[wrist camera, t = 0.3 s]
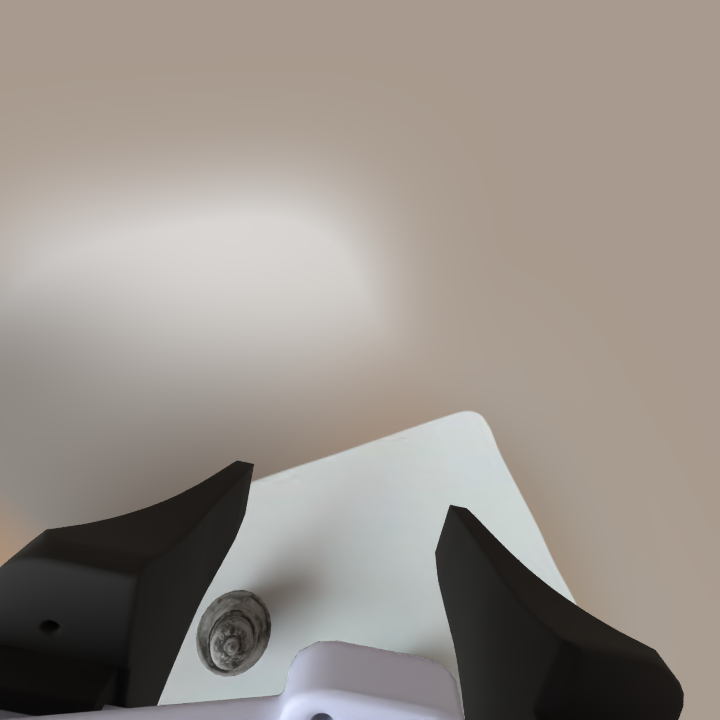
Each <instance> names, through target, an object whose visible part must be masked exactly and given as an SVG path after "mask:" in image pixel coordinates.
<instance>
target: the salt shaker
mask: <svg viewBox="0 0 720 720" xmlns="http://www.w3.org/2000/svg"><path fill="white" fill-rule="evenodd" d="M270 632H271V621H270V614H269V612H268V609H267V607H266V605H265V604H264V602H263V601H262V600H261V599H260V598H259V597H258V596H256V595H255V594H253V593H251V592H248V591H244V590H240V591H232V592H229V593H225V594H224V595H222V596H220V597H219V598H217V599H216V600H215V601H214V602H213V603H212V604H211V605H210V606H209V607H208V608H207V610H206V611H205V613H204V614H203V616H202V618H201V620H200V623H199V626H198V629H197V636H196V644H197V652H198V654H199V657H200V660H201V662H202V663H203V664H204V665H205V667H206V668H207V669H208V670H210V671H211V672H213V673H214V674H217V675H221V676H235V675H238V674H240V673H243V672H245V671H247V670H248V669H249V668H251V667H252V666H253V665H254V664H255V663H256V662H257V661H258V660H259V659H260V658H261V656H262V654H263V653H264V651H265V649H266V647H267V644H268V641H269V638H270Z"/></svg>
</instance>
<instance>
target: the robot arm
mask: <svg viewBox="0 0 720 720" xmlns="http://www.w3.org/2000/svg"><path fill="white" fill-rule="evenodd" d="M253 466H254V464H251V463H246V462H241V461H236V462H234V463H232V464H231V465H229V466H227V467H226V468H224V469H223V470H221V471H219V472H218V473H216V474H215V475H213V476H211V477H210V478H208V479H207V480H205V481H203V482H202V483H200V484H198V485H196V486H194V487H192V488H190V489H189V490H187V491H185V492H183V493H181V494H179V495H177V496H175V497H172V498H170V499H168V500H165V501H163V502H160V503H158V504H155V505H153V506H150V507H147V508H144V509H141V510H138V511H135V512H132V513H129V514H125V515H122V516H118V517H115V518H110V519H106V520H102V521H97V522H92V523H88V524H82V525H75V526H68V527H62V528H55V529H47V530H45V531H44V532H43V533H41V534H40V535H39V536H37V537H36V538H35V539H34V540H32V541H31V542H30V543H29V544H27V545H26V546H25V547H24V548H23V549H21V550H20V551H19V552H18V553H17V554H16V555H14V556H13V557H12V558H11V559H9V560H8V561H7V562H6V563H5V564H4V565H2V566H1V567H0V720H464V715H465V720H678V719H679V716H680V713H681V711H682V708H683V698H684V697H683V696H684V693H683V690H682V688H681V685H680V682H679V681H678V680H677V679H676V677H675V676H674V674H673V673H672V672H671V670H670V669H669V668H668V666H667V665H666V664H665V662H664V661H663V660H662V658H661V657H660V656H659V654H658V653H657V652H656V650H654V649H652V648H650V647H648V646H647V645H645V644H643V643H641V642H639V641H637V640H635V639H633V638H631V637H629V636H627V635H625V634H623V633H621V632H619V631H618V630H616V629H614V628H612V627H611V626H609V625H607V624H605V623H604V622H602V621H600V620H599V619H597V618H595V617H594V616H592V615H590V614H589V613H587V612H585V611H584V610H583V609H581V608H579V607H578V606H577V605H575V604H574V603H572V602H571V601H569V600H568V599H566V598H565V597H563V596H562V595H561V594H559V593H558V592H557V591H555V590H554V589H552V588H551V587H550V586H549V585H547V584H546V583H545V582H544V581H542V580H541V579H540V578H539V577H537V576H536V575H535V574H534V573H532V572H531V571H530V570H529V569H528V568H527V567H526V566H524V565H523V564H522V563H521V562H520V561H519V560H518V559H517V558H516V557H515V556H514V555H513V554H511V553H510V552H509V551H508V550H507V549H506V548H505V547H504V546H503V545H502V544H501V543H500V542H499V541H498V540H497V539H496V538H495V537H494V536H493V534H492V533H491V532H490V531H489V530H488V529H487V528H486V527H485V526H484V525H483V524H482V523H481V522H480V521H479V520H478V519H477V518H476V517H475V516H474V515H473V514H472V513H471V512H470V511H469V510H468V509H467V508H463V507H458V506H453V505H450V506H449V510H448V513H447V516H446V519H445V523H444V526H443V529H442V532H441V535H440V539H439V542H438V545H437V548H436V551H435V556H436V566H437V575H438V582H439V586H440V590H441V594H442V599H443V603H444V607H445V611H446V615H447V619H448V623H449V627H450V631H451V635H452V639H453V643H454V648H455V653H456V658H457V664H458V671H459V678H460V684H461V691H462V699H463V707H464V715H463V711H462V706H461V701H460V697H459V692H458V688H457V683H456V680H455V679H454V678H453V676H452V675H451V673H450V672H449V671H448V669H447V668H446V667H445V666H443V665H441V664H438V663H436V662H434V661H431V660H429V659H427V658H424V657H418V656H413V655H408V654H403V653H398V652H392V651H387V650H382V649H377V648H372V647H367V646H361V645H356V644H351V643H346V642H341V641H318V642H316V643H314V644H312V645H310V646H308V647H306V648H304V649H302V650H300V651H299V652H298V654H297V655H296V657H295V659H294V660H293V662H292V664H291V665H290V668H289V673H288V677H287V681H286V685H285V687H284V690H283V692H282V693H281V694H280V695H275V696H263V697H252V698H240V699H229V700H217V701H206V702H195V703H183V704H172V705H160V706H157V704H158V701H159V699H160V696H161V694H162V691H163V689H164V687H165V684H166V682H167V679H168V677H169V674H170V672H171V669H172V667H173V665H174V662H175V660H176V658H177V655H178V653H179V650H180V648H181V646H182V643H183V641H184V639H185V636H186V634H187V632H188V629H189V627H190V625H191V622H192V620H193V618H194V615H195V613H196V611H197V609H198V607H199V605H200V603H201V601H202V599H203V597H204V595H205V593H206V591H207V589H208V587H209V586H210V584H211V582H212V580H213V578H214V577H215V575H216V573H217V571H218V569H219V568H220V566H221V564H222V562H223V560H224V559H225V557H226V555H227V553H228V551H229V549H230V548H231V546H232V544H233V542H234V540H235V538H236V536H237V533H238V531H239V528H240V526H241V523H242V521H243V518H244V516H245V512H246V506H247V501H248V495H249V489H250V484H251V478H252V472H253Z"/></svg>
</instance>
